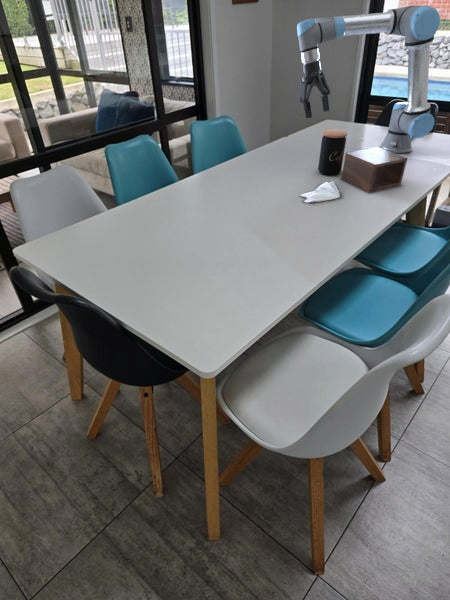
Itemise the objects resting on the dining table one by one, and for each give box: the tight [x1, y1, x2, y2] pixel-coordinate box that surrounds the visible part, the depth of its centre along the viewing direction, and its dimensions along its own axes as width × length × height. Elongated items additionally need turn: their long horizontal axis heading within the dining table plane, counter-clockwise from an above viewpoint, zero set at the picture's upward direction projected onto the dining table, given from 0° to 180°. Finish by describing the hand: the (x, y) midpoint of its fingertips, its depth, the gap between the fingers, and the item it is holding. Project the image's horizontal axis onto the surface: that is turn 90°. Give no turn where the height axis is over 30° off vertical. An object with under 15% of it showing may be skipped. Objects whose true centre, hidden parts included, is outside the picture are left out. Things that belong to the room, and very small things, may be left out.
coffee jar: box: [317, 128, 348, 177], centre depth 189 cm, size 11×11×18 cm
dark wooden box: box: [340, 146, 408, 194], centre depth 180 cm, size 18×18×12 cm
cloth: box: [299, 180, 341, 204], centre depth 173 cm, size 26×14×2 cm, turn 136°
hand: (317, 114), depth 187 cm, fingers open, 13 cm apart
